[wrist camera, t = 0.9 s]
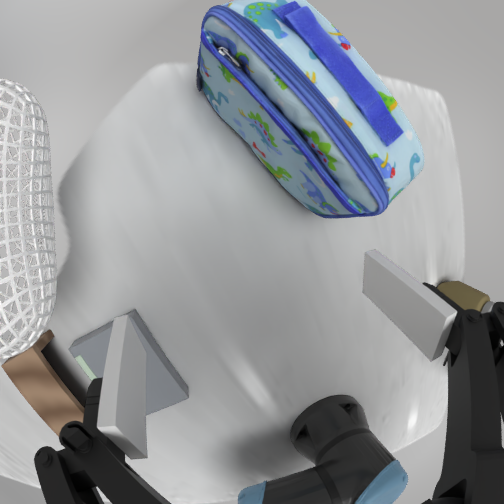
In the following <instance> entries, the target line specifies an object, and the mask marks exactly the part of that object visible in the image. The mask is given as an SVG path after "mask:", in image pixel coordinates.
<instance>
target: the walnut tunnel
mask: <svg viewBox="0 0 504 504" xmlns="http://www.w3.org/2000/svg"><path fill="white" fill-rule="evenodd" d="M53 337H54V335H53V333H52V331H51V330H48V331H47V332H45V333H43V334H42V335H41V336H40V337H39V339H38V340H37V341H36V342H35V343H34V344H33V345H32V346H31V347H30V348H28V349H27V350H25V351H24V352H22V353H19V354H17V355H15V356H13V357H10V358H9V359H8V360H7V361H6V362H5V363H4V364H3V365H2V368H3V369H4V371H5V372H6V373H7V375H8V376H9V378H10V379H11V381H12V382H13V383H14V385H15V386H16V387H17V389H18V390H19V391H20V393H21V394H22V395H23V396H24V398H25V399H26V400H27V401H28V403H29V404H30V405H31V406H32V408H33V409H34V410H35V411H36V412H37V414H38V415H39V416H40V417H41V418H42V419H43V420H44V421H45V423H46V424H47V425H48V426H49V427H50V428H51V429H52V430H53V431H54V432H55V433H56V434H57V435H58V436H59V433H60V431H61V429H62V427H63V426H64V425H65V424H67V423H68V422H70V421H80V422H82V423H83V417H84V410H85V408H84V407H83V406H82V405H81V404H80V403H79V401H78V400H77V399H76V398H75V397H74V395H73V394H72V393H71V392H70V391H69V389H68V388H67V387H66V386H65V384H64V383H63V382H62V380H61V379H60V378H59V376H58V375H57V374H56V372H55V371H54V370H53V368H52V367H51V366H50V364H49V363H48V361H47V360H46V359H45V357H44V356H43V354H42V353H41V350H42V349H43V348H44V347H45V346H46V345H47V344H48V343H49V341H50V340H51V339H52V338H53Z"/></svg>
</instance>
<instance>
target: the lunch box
mask: <svg viewBox="0 0 504 504" xmlns="http://www.w3.org/2000/svg"><path fill="white" fill-rule="evenodd" d="M197 64H198V69H197V88H198V90H199V92H200V91H201V90H202V89H203V91H204V93H205V95H206V96H207V99H208V101H209V102H210V103H211V105H212V107H213V108H214V110H215V111H216V112H217V113H218V114H219V116H220V117H221V118H222V119H223V120H224V121H225V122H226V123H227V124H228V125H230V126H231V127H232V128H233V129H234V130H235V131H236V132H237V133H238V134H239V135H240V136H241V137H242V138H243V139H244V140H245V141H246V142H247V143H248V144H249V145H250V146H251V148H252V150H253V151H254V153H255V154H256V155H257V157H258V158H259V159H260V161H261V162H262V163H263V164H264V165H265V166H266V167H267V168H268V169H269V171H270V172H271V173H272V174H273V175H274V177H275V178H276V179H277V180H278V181H279V182H280V184H281V185H282V186H283V187H284V188H285V189H286V190H287V191H288V192H289V193H290V194H291V195H293V196H294V197H295V198H296V199H297V200H298V201H299V202H300V203H302V204H303V205H304V206H305V207H306V208H307V209H309V210H311V211H312V212H313V213H315V214H316V215H318V216H321V217H323V218H351V217H365V216H375V215H379V214H381V213H382V212H384V211H385V209H386V208H387V207H388V205H389V204H390V202H391V201H392V200H393V199H394V198H395V197H396V196H397V195H398V194H399V193H400V192H401V191H402V190H403V189H404V188H405V187H406V186H407V185H408V184H409V183H410V182H411V181H412V180H413V179H414V178H415V177H416V176H417V175H418V174H419V173H420V172H421V171H422V169H423V166H424V154H423V149H422V146H421V143H420V141H419V138H418V136H417V134H416V132H415V131H414V129H413V127H412V125H411V124H410V122H409V120H408V119H407V117H406V116H405V114H404V112H403V111H402V109H401V108H400V106H399V105H398V103H397V102H396V100H395V99H394V98H393V96H392V95H391V93H390V92H389V90H388V89H387V88H386V86H385V85H384V84H383V82H382V81H381V80H380V78H379V77H378V76H377V75H376V73H375V72H374V71H373V70H372V68H371V67H370V66H369V65H368V63H367V62H366V61H365V60H364V59H363V57H361V55H360V54H359V53H358V52H357V51H356V50H355V48H353V46H352V45H351V44H350V43H349V42H348V41H347V39H346V38H345V37H344V36H343V35H342V34H341V33H340V32H339V31H338V30H337V29H336V28H335V27H334V26H333V25H332V24H331V23H330V22H329V21H328V20H327V19H326V18H325V17H324V16H322V15H321V14H320V13H319V12H318V11H317V10H316V9H315V8H314V7H313V6H311V4H309V3H308V2H307V1H306V0H232V1H229V2H227V3H225V4H223V5H217V6H214V7H212V8H210V9H209V11H208V12H207V13H206V15H205V17H204V19H203V22H202V27H201V42H200V49H199V56H198V63H197Z"/></svg>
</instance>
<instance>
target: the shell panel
mask: <svg viewBox="0 0 504 504" xmlns="http://www.w3.org/2000/svg"><path fill="white" fill-rule="evenodd" d="M125 315H128V316H129V318H130V321H131V323H132V325H133V327H134V329H135V331H136V333H137V335H138V337H139V339H140V341H141V343H142V345H143V347H144V349H145V351H146V415H148V414H151V413H153V412H156V411H159V410H161V409H164V408H166V407H169V406H171V405H174V404H176V403H179V402H181V401H183V400H186V399H188V398H189V394H188V386H187V385H186V383H185V382H184V381H183V379H182V378H181V377H180V375H179V374H178V373H177V371H176V370H175V368H174V367H173V366H172V364H171V363H170V361H169V360H168V359H167V357H166V356H165V354H164V353H163V351H162V350H161V348H160V347H159V345H158V344H157V342H156V341H155V339H154V338H153V336H152V335H151V333H150V332H149V330H148V329H147V327H146V326H145V324H144V322H143V321H142V319H141V318H140V316H139V314H138V313H137V311H136V309H135V310H133V311H131V312H129V313H127V314H125ZM123 316H124V315H123ZM113 322H114V321H112V322H110V323H108V324H106V325H104V326H102V327H100V328H98V329H96V330H95V331H93V332H91V333H89V334H87V335H85V336H83V337H81V338H79V339H77V340H75V341H74V343H73V344H72V345H71V347H70V348H69V351H70V352H71V354H72V355H73V357H74V358H75V360H76V361H77V362H78V364H79V365H80V367H81V368H82V369H83V371H84V372H85V373H86V375H87V376H88V377H89V379H90V380H91V381H92V380H93V379H95V378H102V377H103V375H104V369H105V363H106V357H107V352H108V347H109V342H110V337H111V332H112V327H113Z"/></svg>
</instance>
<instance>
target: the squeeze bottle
mask: <svg viewBox="0 0 504 504" xmlns="http://www.w3.org/2000/svg"><path fill="white" fill-rule="evenodd" d="M437 289H438V290H440V292H442V293H444V294H445V295H446V296H448V297H449V298H450V299H451V300H453V301H454V302H455V303H456V304H458V305H459V306H460V307H461V308H463V309H464V310H467V309H475V310H478V311H480V312H481V313H486V312H490V311H491V309H492V307H493V305H494V302H491V301H490V298H489V296H488V295H486V294H485V293H483V292H481V291H479V290H477V289H474V288H472V287H470V286H468V285H466V284H464V283H462V282H460V281H451V282H443V283H441V284H439V285H438V287H437Z"/></svg>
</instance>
